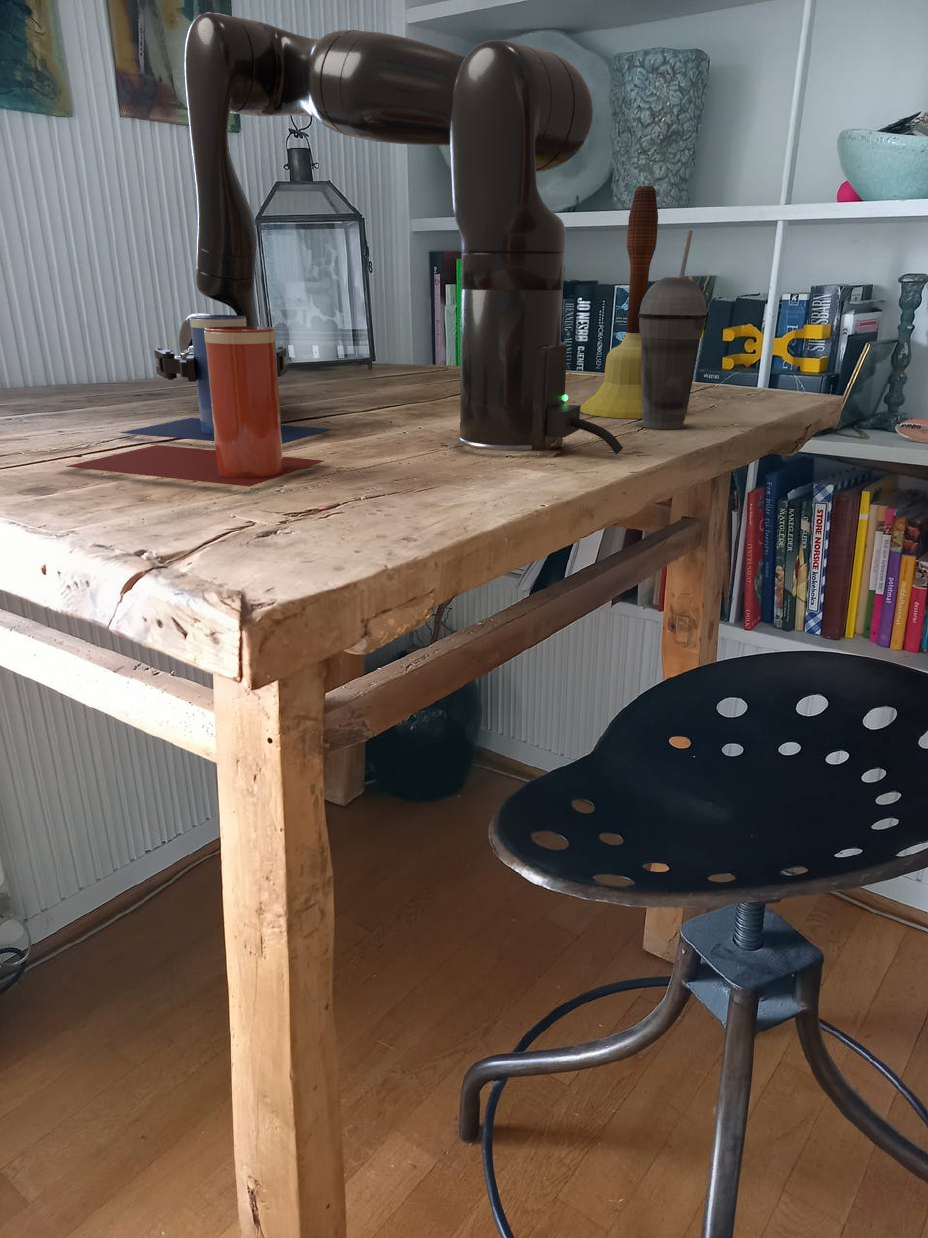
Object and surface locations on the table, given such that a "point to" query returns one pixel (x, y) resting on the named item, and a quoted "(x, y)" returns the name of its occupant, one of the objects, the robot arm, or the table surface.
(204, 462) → the red mat
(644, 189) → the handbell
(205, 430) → the blue tumbler
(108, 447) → the table surface
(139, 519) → the table surface
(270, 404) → the cylinder
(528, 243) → the robot arm
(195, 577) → the table surface
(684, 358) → the beverage cup
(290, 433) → the blue mat
